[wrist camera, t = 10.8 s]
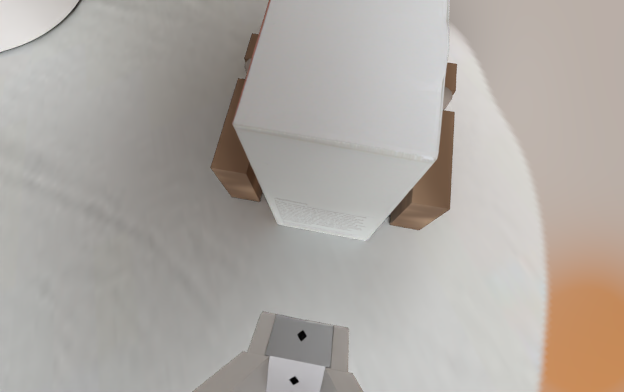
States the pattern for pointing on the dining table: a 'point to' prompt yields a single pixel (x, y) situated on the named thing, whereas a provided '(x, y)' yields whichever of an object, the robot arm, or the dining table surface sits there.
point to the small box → (344, 108)
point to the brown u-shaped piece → (409, 212)
